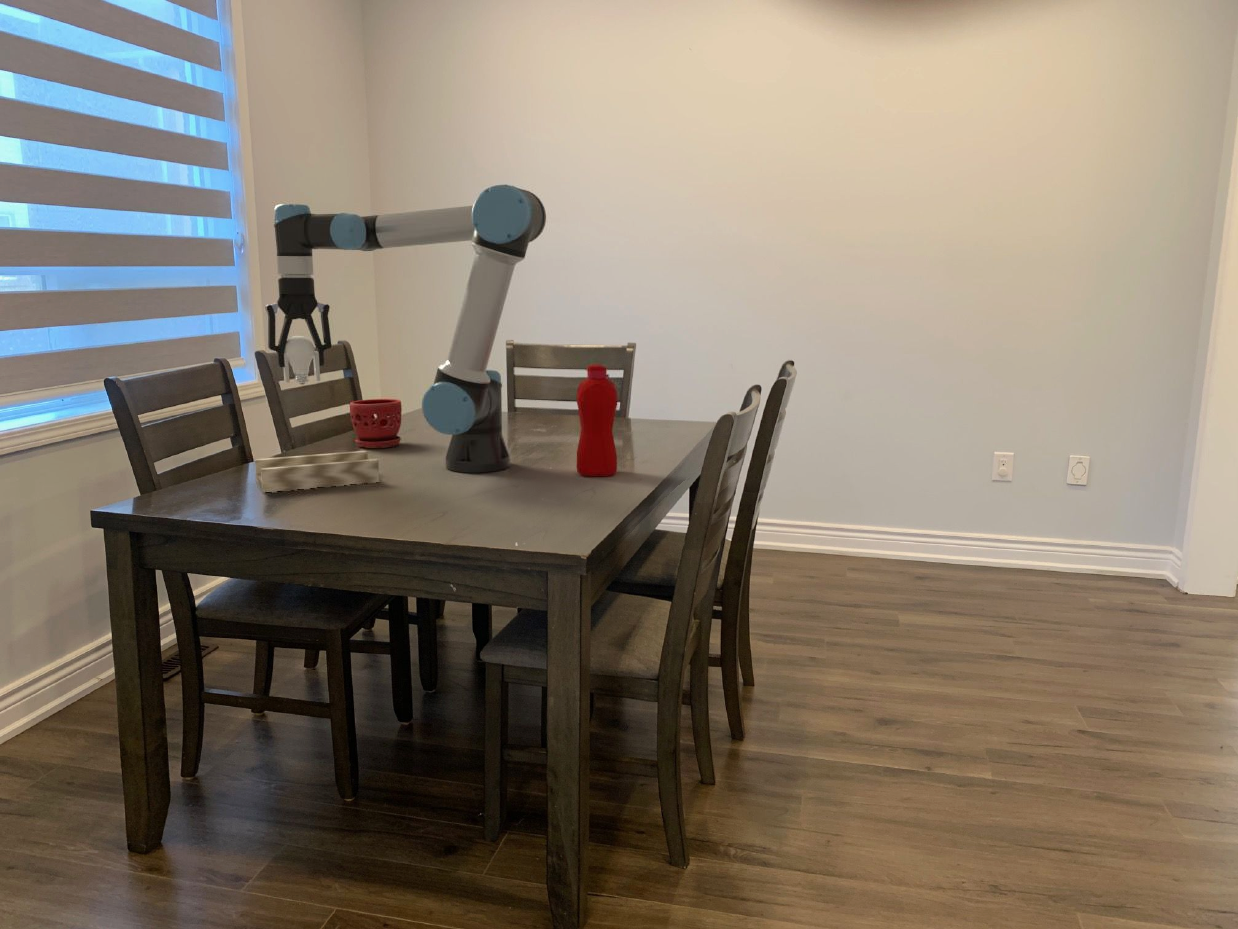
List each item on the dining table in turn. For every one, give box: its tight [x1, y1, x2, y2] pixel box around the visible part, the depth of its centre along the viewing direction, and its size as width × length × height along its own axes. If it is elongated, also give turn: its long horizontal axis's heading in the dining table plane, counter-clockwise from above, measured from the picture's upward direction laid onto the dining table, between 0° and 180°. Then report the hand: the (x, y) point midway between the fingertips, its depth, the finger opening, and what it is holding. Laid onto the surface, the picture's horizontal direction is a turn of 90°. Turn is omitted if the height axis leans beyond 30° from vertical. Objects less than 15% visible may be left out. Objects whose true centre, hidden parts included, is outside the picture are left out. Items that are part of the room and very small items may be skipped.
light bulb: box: [284, 335, 316, 386], centre depth 213 cm, size 7×7×11 cm
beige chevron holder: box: [254, 450, 380, 494], centre depth 207 cm, size 24×12×5 cm, turn 117°
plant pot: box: [349, 398, 403, 449], centre depth 249 cm, size 13×13×12 cm
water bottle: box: [576, 363, 626, 477], centre depth 216 cm, size 9×11×25 cm
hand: (302, 380), depth 215 cm, fingers closed on light bulb, 6 cm apart
